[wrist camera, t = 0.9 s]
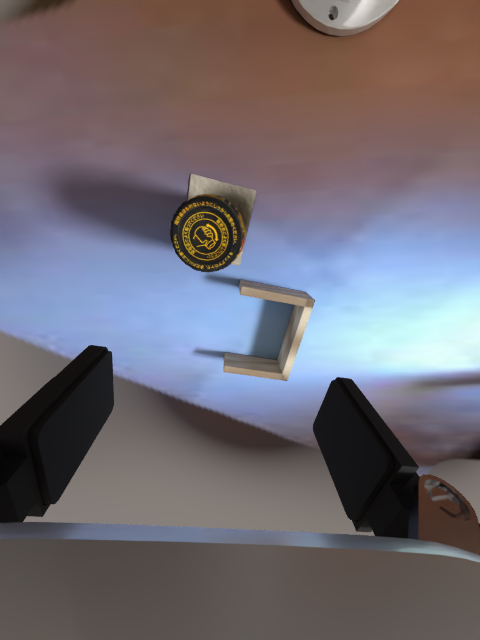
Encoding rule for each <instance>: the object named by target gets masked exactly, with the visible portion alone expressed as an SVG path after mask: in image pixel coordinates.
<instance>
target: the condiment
mask: <svg viewBox="0 0 480 640" xmlns="http://www.w3.org/2000/svg"><path fill="white" fill-rule="evenodd" d="M255 195H256V190H252V189H248V188H244V187H240V186H236V185H232V184H228V183H224V182H221V181H220V182H219V181H217V180H213V179H210V178H205V177H202V176H198V175H194V174H191V179H190V187H189V194H188V201H185V202H184V203H182V205H181V206H180V207H179V208H178V210H177V211H176V213H175V214H174V216H173V220H172V221H171V230H170V235H171V241H172V243H173V247H174V249H175V252H176V254H177V255H178V257H179V258H180V259H181V260H182V261H183V262H184V263H185V264H186V265H188V266H190V267H191V268H192V269H194V270H197V271H201V272H213V271H219V270H220V269H224V268H225V267H227V266H229V265H230V264H234V265H239V266H240V263H241V258H242V254H243V249H244V245H245V240H246V235H247V231H248V227H249V222H250V218H251V213H252V209H253V204H254V200H255Z"/></svg>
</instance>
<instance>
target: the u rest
mask: <svg viewBox="0 0 480 640" xmlns="http://www.w3.org/2000/svg"><path fill="white" fill-rule="evenodd" d="M239 291H240V295H245V296H250V297H256V298H261V299H266V300H272V301H277V302H283V303H288V304H293V305H294V308H293V311H292V315H291V318H290V321H289V324H288V327H287V330H286V334H285V337H284V340H283V343H282V346H281V350H280V353H279V356H278V359H277V360H274V359H267V358H261V357H254V356H247V355H241V354H234V353H228V352H225V355H224V372H227V373H234V374H241V375H249V376H256V377H263V378H270V379H277V380H284V381H287V380H288V377H289V374H290V371H291V369H292V366H293V363H294V360H295V357H296V354H297V351H298V348H299V346H300V343H301V340H302V337H303V334H304V331H305V328H306V325H307V323H308V320H309V317H310V314H311V311H312V308H313V305H314V302H315V300H314V299H313V298H312V297H311V296H310V295H309V294H308V293H306V292H303V291H298V290H292V289H287V288H282V287H277V286H272V285H267V284H261V283H256V282H251V281H246V280H241V279H240V283H239Z"/></svg>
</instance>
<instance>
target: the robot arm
mask: <svg viewBox="0 0 480 640" xmlns="http://www.w3.org/2000/svg"><path fill="white" fill-rule="evenodd" d="M291 1H292V3H293V5H294V6H295V8H296V10H297V11H298V12H299V13H300V14H301V16H302V17H303V18H304V19H305V20H306V21H307V22H308V23H309V24H311V25H312V26H313V27H314V28H316V29H317V30H319V31H322V32H324V33H326V34H329V35H336V36H347V35H354V34H357V33H359V32H362V31H364V30H367V29H369V28H370V27H371V26H373V25H374V24H376V23H377V22H379V21H380V20H381V19H382V18H383V17H384V16H385V15H386V14H387V13H388V12H389V11H390V10H391V9H392V8H393V7H394V6H395V5H396V3H397V2H398V1H399V0H291ZM329 18H330V19H331V20H330V19H329ZM113 406H114V392H113V365H112V352H111V351H108V349H107V348H106V347H102V346H94V345H90V346H88V347H87V348H86V349H85V350H84V351H83V352H82V353H80V354H79V355H78V356H77V357H76V358H75V359H74V360H73V361H72V362H71V363H70V364H68V366H66V367H65V368H64V369H63V370H62V371H61V372H60V373H59V374H58V375H57V376H56V377H54V378H52V379H51V380H50V381H49V382H48V383H47V384H45V385H44V386H43V387H42V388H41V389H40V390H39V391H38V392H37V393H36V394H34V395H33V396H32V397H31V398H30V399H29V400H28V401H27V402H26V403H25V404H24V405H22V406H21V407H20V408H19V409H18V410H17V411H16V412H15V413H14V414H13V415H12V416H11V417H9V418H8V419H7V420H6V421H5V422H4V423H3V424H2V425H1V426H0V640H480V524H479V523H478V519H477V516H476V513H475V511H474V509H473V508H472V506H471V505H470V503H469V502H468V501H467V500H466V498H465V497H464V496H463V495H462V494H461V493H460V492H459V491H457V490H456V489H455V488H454V487H453V486H451V485H450V484H448V483H447V482H445V481H444V480H442V479H440V478H438V477H436V476H432V475H422V476H421V477H419V476H418V474H417V473H416V471H417V469H418V468H419V467H418V465H417V464H416V463H415V461H414V460H413V459H412V457H411V456H410V455H409V454H408V452H407V451H406V450H405V448H404V447H403V446H402V444H401V443H400V442H399V440H398V439H397V438H396V436H395V435H394V434H393V433H392V431H391V430H390V429H389V427H388V426H387V425H386V423H385V422H384V421H383V419H382V418H381V417H380V416H379V414H378V413H377V412H376V410H375V409H374V408H373V406H372V405H371V404H370V402H369V401H368V400H367V399H366V397H365V396H364V395H363V393H362V392H361V391H360V389H359V388H358V387H357V385H356V384H355V383H354V382H353V380H352V379H348V378H340V377H338V378H336V379H335V380H333V381H332V382H331V384H330V386H329V388H328V391H327V393H326V395H325V398H324V400H323V402H322V405H321V407H320V410H319V412H318V414H317V417H316V419H315V421H314V424H313V431H314V434H315V437H316V439H317V442H318V444H319V447H320V449H321V452H322V454H323V457H324V459H325V462H326V464H327V467H328V469H329V472H330V475H331V477H332V479H333V482H334V484H335V487H336V490H337V492H338V495H339V497H340V500H341V502H342V505H343V507H344V510H345V512H346V514H347V516H348V518H349V519H350V520H352V522H353V524H354V526H355V529H356V531H359V532H371V531H372V530H373V532H374V534H375V536H366V535H347V534H327V533H307V532H287V531H266V530H245V529H222V528H199V527H176V526H149V525H125V524H99V523H52V522H51V523H50V522H23V521H24V519H25V518H26V516H37V517H43V515H44V514H45V512H46V510H47V509H48V507H49V506H50V504H55V503H56V502H57V501H58V500H59V498H60V497H61V495H62V494H63V492H64V490H65V489H66V487H67V485H68V484H69V482H70V480H71V478H72V477H73V475H74V473H75V472H76V470H77V468H78V467H79V465H80V464H81V462H82V460H83V459H84V457H85V455H86V454H87V452H88V450H89V448H90V447H91V445H92V443H93V442H94V440H95V439H96V437H97V435H98V434H99V432H100V430H101V429H102V427H103V425H104V423H105V422H106V420H107V418H108V417H109V415H110V414H111V412H112V409H113Z"/></svg>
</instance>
